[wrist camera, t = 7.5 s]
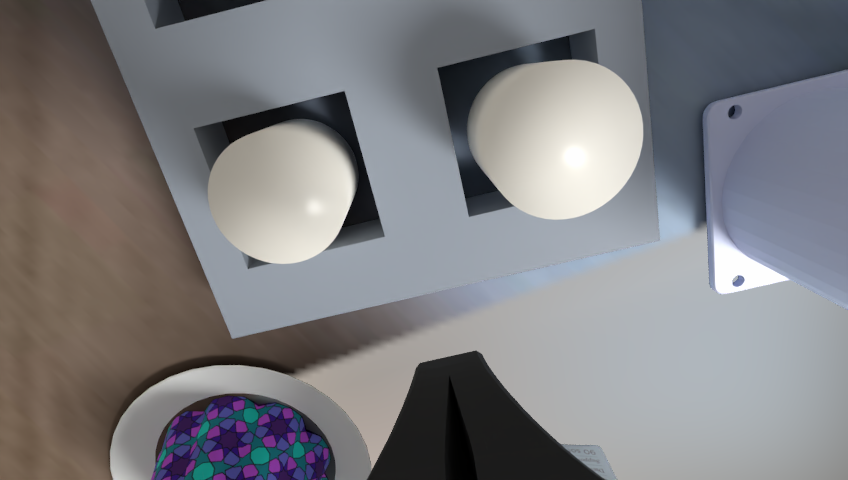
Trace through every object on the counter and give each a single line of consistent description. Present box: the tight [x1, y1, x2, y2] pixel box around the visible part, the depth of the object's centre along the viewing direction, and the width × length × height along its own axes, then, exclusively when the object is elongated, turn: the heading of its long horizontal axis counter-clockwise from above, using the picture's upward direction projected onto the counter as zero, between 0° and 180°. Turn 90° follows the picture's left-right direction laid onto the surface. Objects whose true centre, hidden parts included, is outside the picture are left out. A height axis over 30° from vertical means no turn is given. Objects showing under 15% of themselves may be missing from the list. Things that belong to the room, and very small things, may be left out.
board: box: [91, 0, 660, 339], centre depth 16 cm, size 16×18×2 cm
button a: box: [467, 60, 643, 220], centre depth 14 cm, size 4×4×4 cm
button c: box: [208, 119, 359, 264], centre depth 16 cm, size 4×4×4 cm
